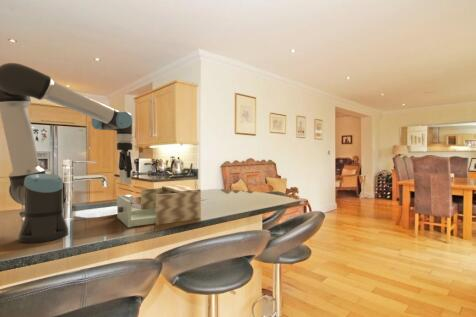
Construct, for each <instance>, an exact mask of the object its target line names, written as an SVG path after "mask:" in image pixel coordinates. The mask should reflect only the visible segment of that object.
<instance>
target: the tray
mask: <svg viewBox="0 0 476 317" xmlns="http://www.w3.org/2000/svg"><path fill="white" fill-rule="evenodd" d="M120 195H121V194H118V195H116V204H117V206H116V208H117V210H116V212H117V214H116V215H117V216H116V218H117V219H118V220H119V221H121V223H122V224H124V225H125V226H126V227H127V228H132V227H138V226H146V225H152V224H156V208H152V209H142V210H141V209H135V210H132V200H131V201H129V200H127V199H126V198H124V197H122V196H120Z"/></svg>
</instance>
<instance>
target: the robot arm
mask: <svg viewBox="0 0 476 317" xmlns="http://www.w3.org/2000/svg"><path fill="white" fill-rule="evenodd" d="M31 98H34V99H36V100H39V101H41V100H46V101H49V102H51V103H54V104H56V105H58V106H61V107H64V108H66V109H68V110H70V111H71V110H72V111H73V112H76V113H79V114H82V115H84V116H87V117H89V118H91V126H92V128H93V129H95V130H100V131H116V142H117V143H116V150H117V151H119V160H118V169H119V183H124V184H125V185H132V171H133V165H132V157H131V151H133V138H134V136H133V116H132V114H131V113H130V112H128V111H125V110H121V111H119V110H117V109H115V108H112V107H110V106H108V105H106V104H104V103H101V102H99V101H97V100H95V99H93V98H90V97H88V96H86V95H84V94H82V93H81V92H78V91H76V90H73V89H71V88H69V87H67V86H64V85H62V84H60V83H58V82H55V81H54V80H53V79H52V77H51V76H49V75H47V74H45V73H43V72H41V71H38V70H36V69H34V68H31V67H29V66H27V65H24V64H20V63H16V62H8V63H4V64H0V118H1V123H2V126H3V131H4V136H5V139H6V145H7V151H8V154H9V159H10V164H11V168H12V171H11V172H10V173H9V174H8V178H9V182H10V185H9V188H8V192H9V196H10V197H11V199H12V201H14V202H16V203H17V204H20V205H22V206H24V220H23V223H22V225H21V228H20V230H19V232H18V242H20V243H24V244H25V243H26V244H37V243H38V244H39V243H44V242H45V243H46V242H50V241H56V240H58V239H62V238H65V237H66V236H68V235H69V228H68V225H67V223H66V219H65V217H64V212H63V211H64V210H63V208H64V206H63V205H64V204H63V201H64V199H63V197H64V196H63V193H64V192H63V189H64V188H63V187H64V182H63V177H61V176H60V175H58V174H54V173H53V174H51V173H46V171H45V170H46V169H44V168H43V167H41V166H40V163H39V158H38V157H39V156H38V153H37V148H36V147H37V146H36V143H35V139H34V133H33V128H32V123H31V118H30V114H29V113H30V112H29V106H30V105H31V104H32V100H31Z"/></svg>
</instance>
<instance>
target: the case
mask: <svg viewBox="0 0 476 317" xmlns="http://www.w3.org/2000/svg"><path fill="white" fill-rule="evenodd" d="M201 192H202V191H201V189H200V188H196V187H192V186H187V185H183V184H182V185H181V184H176V185H175V184H174V185H161V187H157V188H156V187H155V188H143V189H140V210H142V209H152V208H156V223H155V225H156V226H158V225H165V224H170V223H177V222H178V223H179V222H183V221H191V220H196V219H201V217H202V216H201V203H202V202H201V197H202V196H201Z"/></svg>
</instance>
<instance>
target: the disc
mask: <svg viewBox="0 0 476 317" xmlns="http://www.w3.org/2000/svg"><path fill="white" fill-rule="evenodd" d="M119 195H120V196H122V197H124V198H126V199H127V200H129V201H131V202H132V201H133V200H134V195H133V194H130V193H128V194H127V193H126V194H119Z"/></svg>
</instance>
